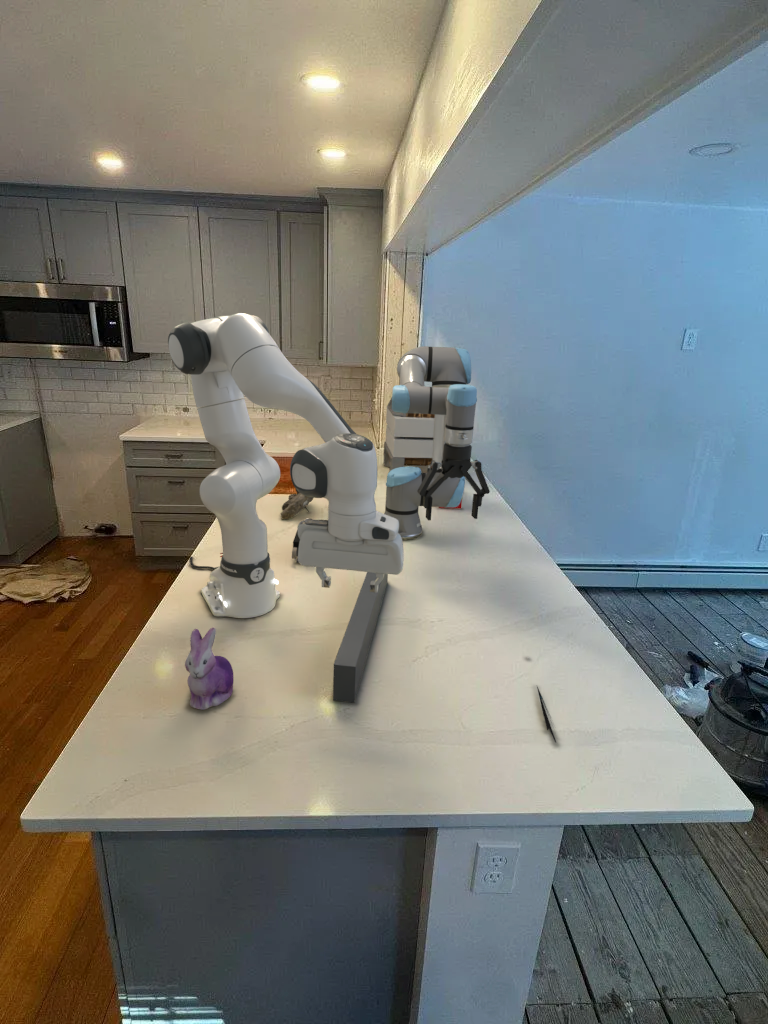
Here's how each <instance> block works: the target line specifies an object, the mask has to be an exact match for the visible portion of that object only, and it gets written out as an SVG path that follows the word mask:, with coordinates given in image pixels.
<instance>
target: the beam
mask: <svg viewBox="0 0 768 1024" xmlns="http://www.w3.org/2000/svg"><path fill="white" fill-rule="evenodd" d="M377 578H378V577H376V573H373V572H366V574H365V577H364V579H363V582H362V585H361V587H360V591H359V593H358V597H357V599H356V601H355V603H354V607H353V610H352V612H351V615H350V619H349V621H348V623H347V626H346V629H345V632H344V635H343V638H342V639H341V643H340V646H339V648H338V651H337V655H336V657H335V659H334V662H333V674H332V675H333V678H332V680H333V683H332V700H333V701H337V702H345V703H351V704H352V703H354V704H355V702H356V699H357V696H358V692H359V688H360V684H361V680H362V677H363V673H364V671H365V670H364V669H365V666H366V663H367V659H368V655H369V651H370V647H371V644H372V640H373V638H374V633H375V630H376V627H377V622H378V619H379V614H380V612H381V608H382V604H383V601H384V597H385V593H386V589H387V585H388V582H389V581H388V579H389V574H384V578H383V579H382V581H381V582H380V583H379V586H378V592H377V593H375V592H370V583H371V581H376V579H377Z"/></svg>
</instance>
